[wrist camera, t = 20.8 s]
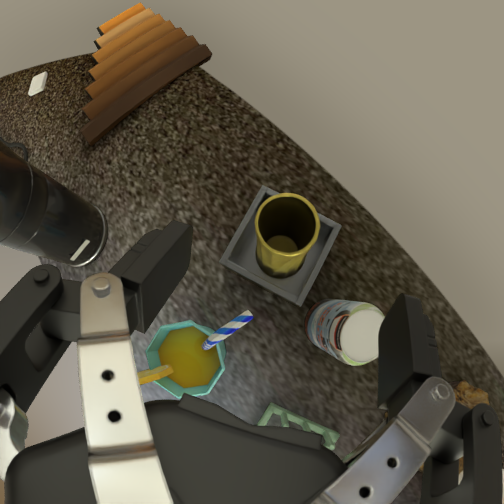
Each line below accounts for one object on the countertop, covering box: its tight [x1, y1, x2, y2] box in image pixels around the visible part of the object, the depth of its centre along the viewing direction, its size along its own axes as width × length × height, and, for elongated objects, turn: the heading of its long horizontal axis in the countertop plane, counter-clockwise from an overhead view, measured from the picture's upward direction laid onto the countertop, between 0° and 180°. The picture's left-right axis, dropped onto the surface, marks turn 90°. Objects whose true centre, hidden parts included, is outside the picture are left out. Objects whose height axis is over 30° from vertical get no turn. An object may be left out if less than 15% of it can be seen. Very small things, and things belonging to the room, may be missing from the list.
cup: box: [137, 310, 253, 399], centre depth 31 cm, size 14×8×15 cm, turn 126°
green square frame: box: [257, 402, 340, 450], centre depth 33 cm, size 10×10×6 cm
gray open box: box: [219, 185, 342, 307], centre depth 37 cm, size 10×10×6 cm
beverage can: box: [304, 299, 385, 366], centre depth 32 cm, size 6×7×12 cm
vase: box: [255, 193, 320, 279], centre depth 32 cm, size 6×6×14 cm
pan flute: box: [79, 3, 212, 146], centre depth 46 cm, size 25×3×25 cm
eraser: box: [28, 71, 48, 96], centre depth 48 cm, size 1×5×4 cm
